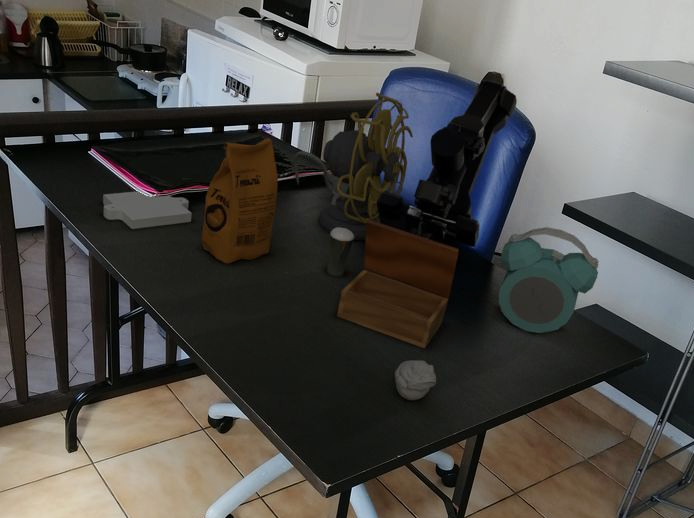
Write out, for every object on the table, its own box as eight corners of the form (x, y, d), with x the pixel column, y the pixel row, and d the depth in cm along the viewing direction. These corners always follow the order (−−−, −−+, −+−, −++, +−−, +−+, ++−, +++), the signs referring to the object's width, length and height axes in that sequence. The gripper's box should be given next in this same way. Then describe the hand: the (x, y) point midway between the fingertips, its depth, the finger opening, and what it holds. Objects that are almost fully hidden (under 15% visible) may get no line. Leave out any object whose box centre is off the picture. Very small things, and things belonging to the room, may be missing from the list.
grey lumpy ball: (402, 413, 112) (412, 375, 108) (382, 386, 117) (392, 348, 113) (437, 410, 114) (448, 372, 111) (416, 383, 120) (427, 346, 116)
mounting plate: (171, 196, 165) (171, 188, 164) (201, 220, 157) (202, 211, 156) (91, 204, 154) (91, 195, 153) (119, 230, 146) (120, 221, 145)
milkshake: (347, 281, 146) (357, 233, 141) (321, 274, 146) (329, 226, 141) (352, 271, 150) (362, 225, 145) (326, 265, 150) (335, 218, 145)
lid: (457, 252, 126) (459, 249, 127) (366, 221, 130) (368, 219, 131) (448, 298, 135) (450, 295, 136) (363, 268, 139) (365, 265, 139)
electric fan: (350, 256, 156) (379, 111, 141) (231, 203, 168) (246, 65, 153) (409, 227, 176) (441, 98, 161) (299, 182, 188) (319, 57, 173)
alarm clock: (574, 328, 147) (610, 234, 137) (570, 349, 139) (608, 251, 129) (488, 300, 150) (518, 206, 140) (479, 320, 142) (510, 222, 132)
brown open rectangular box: (424, 348, 129) (432, 322, 127) (336, 316, 133) (342, 290, 131) (441, 323, 138) (448, 298, 136) (358, 294, 142) (363, 269, 139)
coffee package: (193, 245, 146) (203, 134, 135) (245, 236, 155) (258, 130, 144) (223, 267, 141) (235, 153, 130) (275, 256, 149) (291, 148, 138)
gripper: (391, 147, 132) (356, 223, 128) (493, 178, 128) (460, 258, 124) (396, 179, 143) (364, 250, 139) (490, 208, 138) (460, 283, 135)
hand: (410, 259), depth 134 cm, fingers closed
